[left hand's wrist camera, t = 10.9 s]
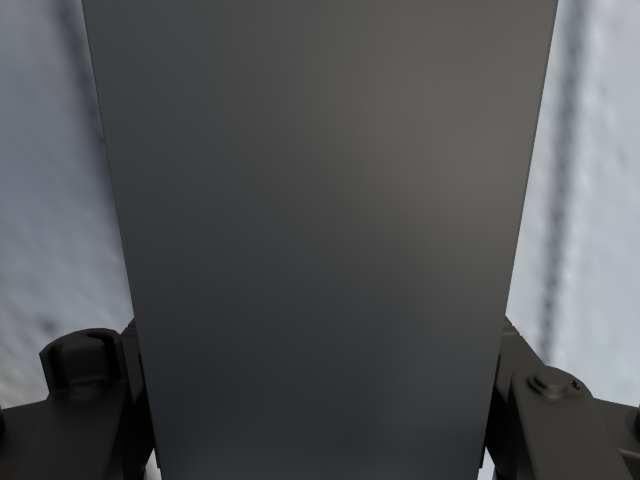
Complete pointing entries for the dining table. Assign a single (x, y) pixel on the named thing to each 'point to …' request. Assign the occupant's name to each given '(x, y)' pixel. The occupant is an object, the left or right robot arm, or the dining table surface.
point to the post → (319, 223)
